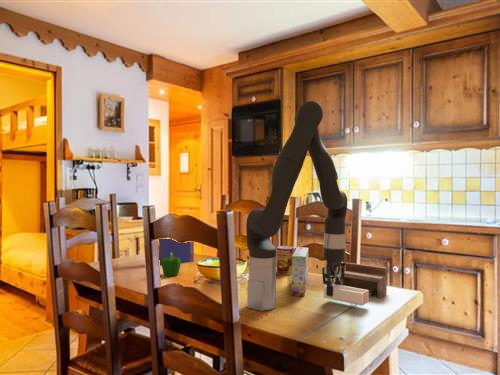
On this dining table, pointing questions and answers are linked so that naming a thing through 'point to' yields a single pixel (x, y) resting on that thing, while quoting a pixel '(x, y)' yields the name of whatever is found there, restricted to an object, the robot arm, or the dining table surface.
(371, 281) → the cubby
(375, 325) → the dining table surface
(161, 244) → the cereal box
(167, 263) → the bell pepper
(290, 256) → the canned food
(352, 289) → the tray shell
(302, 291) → the snack box
